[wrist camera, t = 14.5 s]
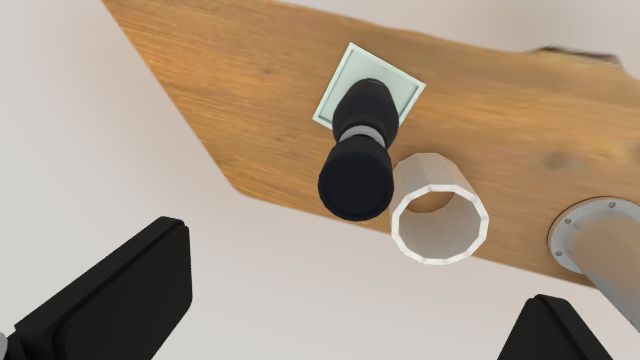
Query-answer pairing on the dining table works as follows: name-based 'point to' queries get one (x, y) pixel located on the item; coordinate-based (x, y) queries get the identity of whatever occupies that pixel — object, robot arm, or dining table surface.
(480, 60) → the dining table surface
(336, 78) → the sage tray
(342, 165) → the wine bottle
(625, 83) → the dining table surface
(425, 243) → the wine cooler
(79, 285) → the robot arm
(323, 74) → the dining table surface
